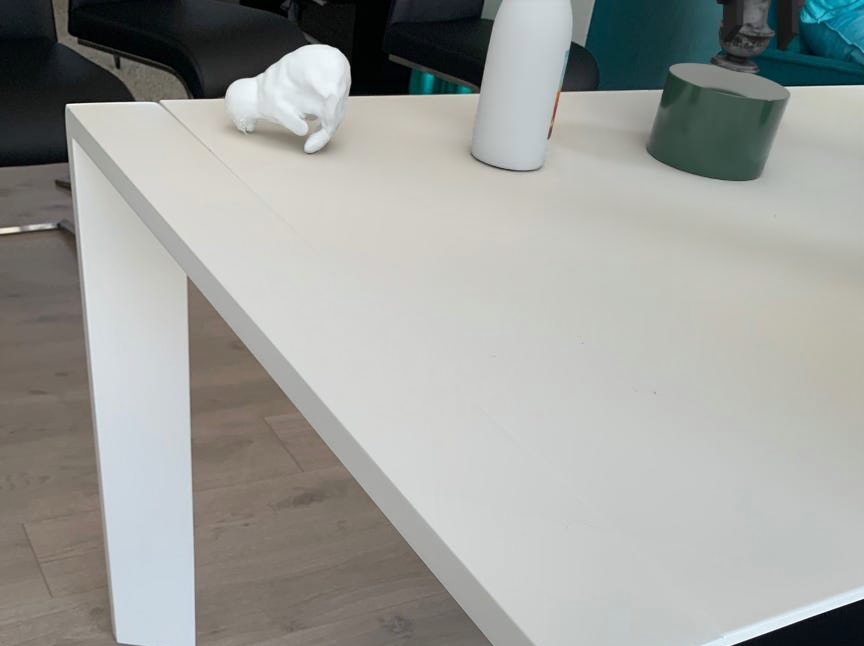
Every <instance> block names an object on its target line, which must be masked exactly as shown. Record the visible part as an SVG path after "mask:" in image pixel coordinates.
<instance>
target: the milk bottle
mask: <svg viewBox="0 0 864 646" xmlns="http://www.w3.org/2000/svg"><path fill="white" fill-rule="evenodd" d="M573 18H574V17H573V9H572V2H571V0H502V1H501V3H500V6H499V7H498V9H497V13H496V15H495V19H494V21H493V25H492V30H491V34H490V39H489V44H488V46H487V47H488V48H487V53H486V58H485V64H484V69H483V75H482V80H481V86H480V91H479V97H478V102H477V106H476V107H477V108H476V113H475V119H474V123H473V129H472V136H471V141H470V142H471V143H470V151H471V154H472V156H473V157H474V158H475V159H477V160H479V161H481V162H482V163H485V164H488V165H491V166H494V167H497V168H502V169H507V170H514V171H533V170H537V169H539V168H542V166H543V164H544V163H545V162H546V161H545V160H546V157H547V153H548V150H549V145H550V141H551V136H552V131H553V127H554V123H555V119H556V115H557V111H558V106H559V102H560V96H561V92H562V88H563V83H564V80H565V79H564V78H565V73H566V68H567V64H568V61H569V60H568V59H569V55H570V50H571V45H572V43H571V42H572V37H573V27H574V26H573V25H574V24H573V23H574V19H573Z"/></svg>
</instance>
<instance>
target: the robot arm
mask: <svg viewBox="0 0 864 646" xmlns="http://www.w3.org/2000/svg"><path fill="white" fill-rule="evenodd" d="M715 1H716V4H717V5H722V20H723V42H729V43H730V41H731V40H732V39H733V38H734V37H735V35H736V34H737V33H738V32H739V31H740V29H741V28H742V27H743V14H744V0H715ZM805 4H806V0H776V50H780V51H781V50H782V51H784V50H785V49H786V48H787V47H788V46H789V45H790V44H791V43H792V42H793V40H794V39H796V37H797V36H798V35H799V33H800V30H799V29H800V23H799V22H800V21H799V20H800V17H799V16H800V15H799V14H800V13H799V12H800V11H801V10H802V9H803V8H804V6H805Z"/></svg>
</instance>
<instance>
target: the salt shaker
mask: <svg viewBox="0 0 864 646" xmlns="http://www.w3.org/2000/svg"><path fill="white" fill-rule="evenodd" d="M771 3H772V0H744V14H743V27H742V28H741V29H740V31H739V32H738V33H737V34H736V35H735V37H734V38H733V39H732V40H731V41H730V43H729V42H723V19H720V20H718V22H717V23H718V26H720V27H719V30H718V44H719V46H720V48H721V50H723V51H724V52H726V53H727V54H716V55H715V56H712V57H711V58H709V63H711V65H715V66H718V67H721V68H724V69H727V70H731V71H736V72H742V73H751V74H758V73H759V72H760V71H761V70H760V67H759V66H758V64H757V63H756V62H754V61H752V60H750V59H749V58H752V57H753V58H754V57H757V56H758V55H760V54H761V53H762V52H764V51H765V49H766V48H767V47H768V45H769V43H770V40H771V38H773V37H775V35H776V33H775V30H773V29H771V28H770V26H769V25H768V23H767V22H768V13H769V9H770V6H771Z"/></svg>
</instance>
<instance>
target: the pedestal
mask: <svg viewBox="0 0 864 646" xmlns="http://www.w3.org/2000/svg"><path fill="white" fill-rule="evenodd" d="M662 89H663V90H662V93H661V96H660V100H659V104H658V107H657V111H656V114H655V117H654V121H653V123H652V126H651V127H652V128H651V131H650V134H649V138H648V141H647V145H646V150H647V152H648V153H649V154H650V156H652V157H654V158H655V159H657V160H658V161H659V162H662V163H663V164H666V165H667V166H669V167H673V168H674V169H676V170H677V169H678V170H680V171H682V172H686V173H689V174H693V175H696V176H702V177H706V178H710V179H711V178H712V179H717V180H724V181H725V180H726V181H751V180H755V179H758V178H760V177H761V176H762V174H763V172H764V169H765V166H766V164H767V161H768V158H769V156H770V153H771V150H772V147H773V145H774V142H775V139H776V137H777V135H778V132H779V129H780V126H781V124H782V120H783V118H784V115H785V113H786V109H787V107H788V104H789V101H790V99H791V92H790V91H789V90H788V89H787V87H784V86H783V85H781V84H780V83H778V82H775V81H774V80H771V79H768V78H766V77H764V76H760V75H757V74H755V73H742V72H736V71H731V70H727V69H724V68H721V67H718V66H716V65H714V64H709V63H708V64H707V63H696V62H681V63H676V64H673V65H671V66H670V67H669V69H668V73H667V75H666V79H665V83H664V86H663V88H662Z"/></svg>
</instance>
